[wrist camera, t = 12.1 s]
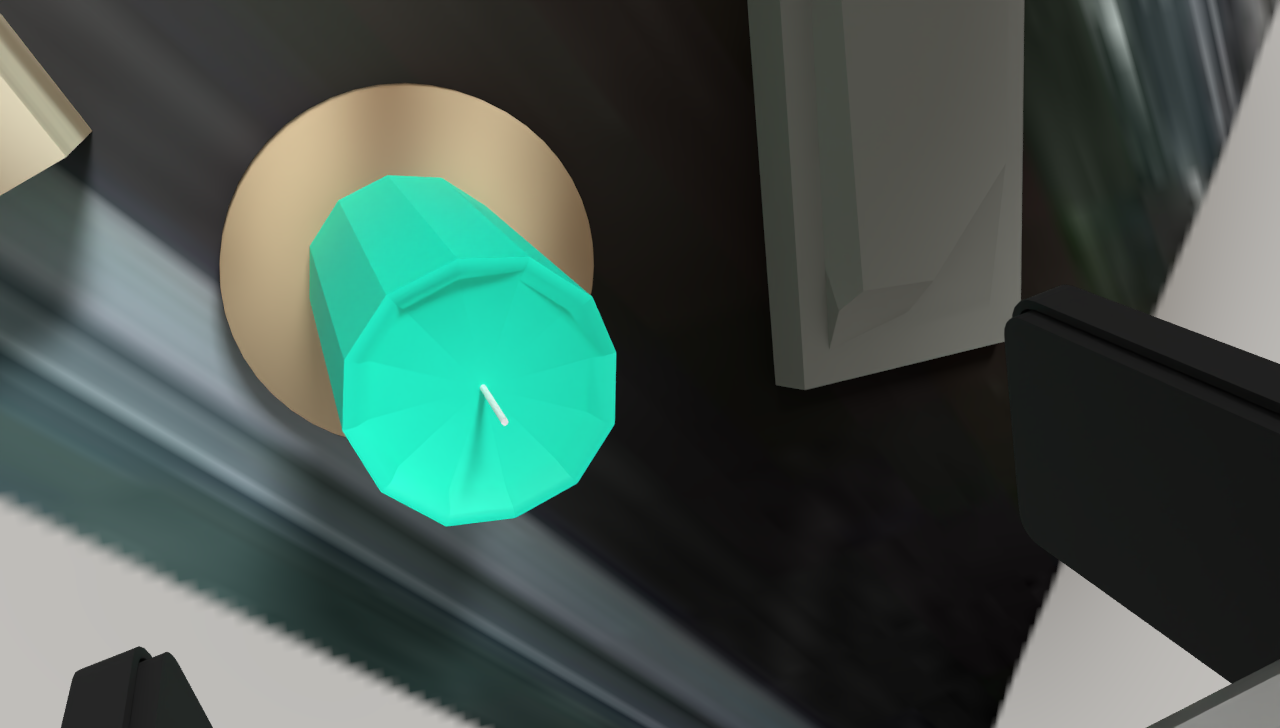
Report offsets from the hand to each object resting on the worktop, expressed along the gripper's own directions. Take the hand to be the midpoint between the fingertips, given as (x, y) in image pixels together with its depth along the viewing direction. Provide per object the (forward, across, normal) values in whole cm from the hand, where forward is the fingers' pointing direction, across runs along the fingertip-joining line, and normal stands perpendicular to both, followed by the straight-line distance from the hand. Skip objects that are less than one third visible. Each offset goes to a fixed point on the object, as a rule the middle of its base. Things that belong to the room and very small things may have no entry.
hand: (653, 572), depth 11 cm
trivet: (+23, 0, +3) cm, 23 cm away
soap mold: (+24, -17, +2) cm, 29 cm away
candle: (+22, 0, +2) cm, 22 cm away
